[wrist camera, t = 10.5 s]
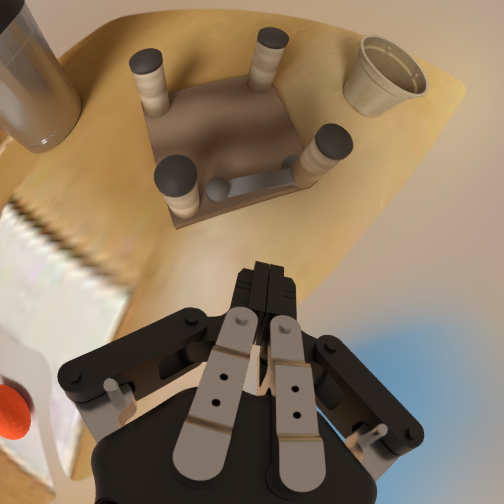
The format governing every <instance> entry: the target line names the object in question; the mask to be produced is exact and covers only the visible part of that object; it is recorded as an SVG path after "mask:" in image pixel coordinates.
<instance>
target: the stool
mask: <svg viewBox="0 0 504 504" xmlns="http://www.w3.org/2000/svg"><path fill="white" fill-rule="evenodd" d="M288 41H289V37H288V35H287V34H286V33H285V32H284V31H282V30H280V29H277V28H272V27H267V28H263V29H261V30H260V31H259V33H258V37H257V43H256V47H255V51H254V55H253V59H252V63H251V67H250V71H249V75H247V76H241V77H235V78H230V79H225V80H220V81H215V82H210V83H206V84H201V85H197V86H193V87H189V88H185V89H181V90H178V91H174V92H171V93H168V92H167V86H166V80H165V74H164V68H163V58H162V53H161V52H160V51H159V50H157V49H153V48H149V49H144V50H141V51H139V52H137V53H135V54H134V55H133V56H132V57H131V59H130V61H129V65H130V69H131V71H132V73H133V76H134V79H135V82H136V85H137V88H138V91H139V94H140V97H141V100H142V102H141V103H142V108H143V112H144V117H145V121H146V126H147V130H148V134H149V138H150V142H151V146H152V150H153V154H154V158H155V162H156V166H157V167H156V169H155V172H154V181H155V184H156V186H157V188H158V189H159V191H160V192H161V193H162V195H163V197H164V198H165V200H166V202H167V205H168V208H169V212H170V215H171V218H172V222H173V225H174V227H175V228H176V230H177V229H180V228H183V227H185V226H188V225H191V224H194V223H197V222H200V221H203V220H206V219H209V218H212V217H215V216H218V215H221V214H224V213H227V212H231V211H234V210H237V209H240V208H243V207H246V206H250V205H253V204H256V203H259V202H263V201H266V200H269V199H272V198H276V197H279V196H283V195H286V194H289V193H293V192H296V191H300V190H303V189H307V188H299V187H297V186H295V185H294V184H291V185H286V186H281V187H276V188H271V189H266V190H262V191H257V192H252V193H247V194H243V195H238V196H234V197H230V198H227V199H226V200H225V201H224V202H222V203H213V202H211V201H210V200H209V199H208V198H207V195H206V185H207V183H208V181H209V180H210V179H211V178H213V177H223V178H225V179H226V180H231V179H235V178H240V177H245V176H250V175H255V174H260V173H265V172H271V171H276V170H282V169H288V168H290V167H291V166H292V165H293V163H294V162H295V161H296V160H297V158H298V157H299V156H300V155H301V153H302V152H303V151H304V149H303V146H302V144H301V142H300V140H299V137H298V135H297V133H296V131H295V129H294V127H293V124H292V122H291V120H290V118H289V116H288V114H287V112H286V110H285V108H284V106H283V104H282V102H281V100H280V98H279V96H278V94H277V92H276V90H275V88H274V86H273V84H272V81H273V79H274V76H275V73H276V71H277V68H278V65H279V63H280V60H281V57H282V55H283V52H284V50H285V47H286V46H287V43H288ZM316 182H317V181H316ZM316 182H315V183H316ZM315 183H314V184H315ZM314 184H313V185H314ZM313 185H311V186H313ZM311 186H310V187H311ZM310 187H308V188H310Z"/></svg>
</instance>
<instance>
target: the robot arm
mask: <svg viewBox="0 0 504 504" xmlns="http://www.w3.org/2000/svg"><path fill="white" fill-rule="evenodd" d="M80 112H81V99H80V96H79V94H78V93H77V91H76V90H75V88H74V87H73V85H72V83H71V82H70V80H69V78H68V77H67V75H66V73H65V72H64V70H63V69H62V67H61V65H60V64H59V62H58V60H57V58H56V57H55V55H54V54H53V52H52V50H51V48H50V47H49V45H48V43H47V41H46V39H45V38H44V36H43V34H42V32H41V30H40V29H39V27H38V25H37V23H36V21H35V20H34V18H33V16H32V14H31V12H30V10H29V8H28V7H27V4H26V3H25V0H0V128H1V129H3V130H4V131H5V132H6V133H7V134H9V135H10V136H11V137H12V138H14V139H15V140H16V141H17V142H19V143H20V144H21V145H22V146H24V147H25V148H26V149H28V150H29V151H31V152H33V153H40V152H45V151H47V150H49V149H51V148H53V147H54V146H56V145H57V144H59V143H60V142H61V141H62V140H63V139H64V138H65V137H66V136H67V135H68V134H69V133H70V131H71V130H72V128H73V127H74V126H75V124H76V122H77V120H78V118H79V115H80ZM296 317H297V312H296V285H295V283H294V282H293V280H292V278H288V277H284V267H282V266H277V265H273V264H270V266H269V264H268V263H263V262H259V261H255V265H254V269H253V270H250V269H245V268H243V269H242V270H241V271H240V272H239V273H238V277H237V281H236V285H235V289H234V293H233V297H232V302H231V306H230V309H229V310H228V311H227V312H226V313H225V314H223V315H221V316H216V317H207V315H206V314H205V313H204V312H203V311H202V310H200V309H197V308H191V307H189V308H184V309H182V310H179V311H177V312H175V313H173V314H171V315H169V316H167V317H165V318H163V319H160V320H158V321H156V322H154V323H152V324H150V325H148V326H146V327H143V328H141V329H139V330H137V331H135V332H133V333H130V334H128V335H126V336H124V337H122V338H120V339H117V340H115V341H113V342H111V343H109V344H106V345H104V346H102V347H100V348H98V349H95V350H93V351H91V352H89V353H86V354H84V355H82V356H80V357H77V358H75V359H73V360H71V361H68V362H66V363H65V364H63V365H62V366H61V367H60V369H59V371H58V376H57V377H58V382H59V384H60V386H61V387H62V389H63V390H64V391H65V393H66V395H67V397H68V398H69V399H70V401H71V402H72V403H73V405H74V406H75V407H76V408H77V409H78V411H79V413H80V415H81V416H82V418H83V420H84V422H85V424H86V425H87V427H88V429H89V431H90V432H91V434H92V436H93V437H94V439H95V441H96V442H97V445H96V446H95V448H94V450H93V452H92V457H91V467H92V471H93V475H94V479H95V486H96V498H95V503H94V504H375V501H376V497H377V487H376V483H375V482H376V481H377V480H378V479H379V478H380V477H381V476H382V475H383V474H384V473H385V471H387V470H388V469H389V468H390V466H391V465H392V464H393V463H394V462H395V461H396V460H397V459H398V458H399V457H400V456H402V455H404V454H406V453H407V452H409V451H411V450H412V449H414V448H416V447H418V446H419V445H420V444H421V443H422V442H423V439H424V430H423V428H422V426H421V424H420V423H419V422H418V421H417V420H416V419H415V418H414V417H413V416H412V415H411V414H410V413H409V412H408V411H407V410H406V409H405V407H404V406H403V405H402V404H401V403H400V402H399V401H398V400H397V399H396V398H395V397H394V396H393V395H392V394H391V393H390V392H389V391H388V390H387V389H386V388H385V386H383V384H382V383H381V382H380V381H379V380H378V379H377V378H376V377H375V376H374V375H373V374H372V373H371V372H370V371H369V370H368V369H367V368H366V367H365V366H364V365H363V363H362V362H361V361H360V360H359V359H358V358H357V357H356V356H355V355H354V354H353V353H352V352H351V351H350V350H349V349H348V348H347V347H346V346H345V345H344V344H343V343H342V341H340V340H339V339H338V338H336V337H334V336H332V335H323V336H321V337H319V338H318V339H316V338H314V337H312V336H310V335H308V334H306V333H304V332H303V331H302V330H301V327H300V325H299V323H298V322H297V318H296ZM255 340H256V344H255V345H259V346H261V347H260V353H259V356H258V359H257V392H256V395H252V394H250V393H247V392H245V391H243V390H242V389H243V384H244V381H245V377H246V372H247V368H248V364H249V360H250V353H251V348H252V344H253V345H254V343H255ZM202 362H207V364H206V367H205V370H204V372H203V375H202V378H201V381H200V383H199V386H198V387H193V388H189V389H186V390H183V391H181V392H179V393H177V394H175V395H174V396H172V397H171V398H169V399H167V400H166V401H164V402H163V403H161V404H160V405H158V406H156V407H155V408H153V409H151V410H150V411H148V412H147V413H145V414H143V415H142V416H140V417H138V418H137V419H135V420H133V421H132V422H130V423H128V424H126V425H125V423H126V422H127V421H128V420H129V419H130V418H131V417H133V415H134V414H135V413H136V410H137V403H136V401H138V400H140V399H142V398H143V397H145V396H147V395H149V394H151V393H153V392H154V391H156V390H158V389H160V388H162V387H163V386H165V385H167V384H169V383H170V382H172V381H174V380H176V379H177V378H179V377H181V376H182V375H184V374H186V373H187V372H189V371H191V370H192V369H194V368H196V367H197V366H199V365H200V364H201V363H202ZM337 384H338V385H337ZM316 405H317V407H318V408H319V409H320V410H321V411H322V413H323V414H324V415H325V416H326V417H327V418H328V420H329V421H330V422H331V423H332V424H333V425H334V427H335V428H336V429H337V430H338V431H339V432H340V433H341V435H342V436H343V437H344V438H345V439H346V441H345V443H344V442H343V441H342V440H341V438H340V437H339V436H338V435H337V433H336V432H335V431H334V430H333V428H332V427H331V426H330V425H329V423H328V422H327V421H326V420H325V418H324V417H323V416H322V415H321V414H320V413H319V412H318V411H316ZM124 425H125V426H124Z"/></svg>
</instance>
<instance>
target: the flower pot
mask: <svg viewBox="0 0 504 504" xmlns="http://www.w3.org/2000/svg"><path fill="white" fill-rule="evenodd" d="M428 88H429V87H428V81H427V78H426V75H425V73H424V71H423V70H422V68H421V67H420V65H419V64H418V63H417V62H416V60H415V59H414V58H413V57H412V56H411V55H410V54H409V53H408V52H407V51H405V50H404V49H403V48H402V47H400V46H399V45H397V44H396V43H394V42H393V41H390V40H389V39H386V38H384V37H381V36H377V35H366V36H364V37H363V38H362V39H361V42H360V50H359V57H358V59H357V61H356V63H355V65H354V67H353V69H352V71H351V73H350V75H349V77H348V79H347V81H346V83H345V85H344V88H343V92H344V96H345V98H346V100H347V101H348V103H349V104H350V105H351V106H353V107H354V108H356V109H357V110H358V112H359V113H361V114H363V115H365V116H368V117H378V116H380V115H381V114H383V113H384V112H386V111H388V110H389V109H391V108H393V107H395V106H396V105H398V104H400V103H402V102H403V101H405V100H407V99H412V98H415V97H422V96H424V95H425V94H426V93H427V92H428Z"/></svg>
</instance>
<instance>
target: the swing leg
mask: <svg viewBox="0 0 504 504" xmlns="http://www.w3.org/2000/svg"><path fill="white" fill-rule="evenodd" d="M352 149H353V141H352V138H351V136H350V134H349V133H348V132H347V131H346V130H345V129H344V128H343V127H341V126H339V125H337V124H325V125H323V126H322V127H321V128H320V129H319V131H318V132H317V134H316V136H315V137H314V138H313V139H312V141H311V142H310V143H309V144H308V146H307V147H306V148H305V149H304V151H303V152H302V153H301V155H300V156H299V157H298V158H297V160H296V161H295V162H294V163H293V165H292V166H291V167H290V168H288V169H282V170H276V171H271V172H265V173H260V174H255V175H250V176H245V177H240V178H235V179H231V180H226V179H225V178H223V177H213V178H211V179H210V180H209V181H208V183H207V185H206V195H207V198H208V199H209V200H210V201H211V202H213V203H222V202H224V201H225V200H226V199H227V198H230V197H234V196H238V195H243V194H247V193H252V192H257V191H262V190H266V189H271V188H276V187H281V186H286V185H291V184H294V185H295V186H297V187H299V188H308V187H310V186H311V185H313V184H314V183H315V182H316V181H317V180H318V179H320V178H321V177H322V176H323V175H324V174H325V173H327V172H328V171H329V170H330V169H331V168H333V167H334V166H335V165H336V164H337V163H338V162H340V161H341V160H342V159H344V158H345V157H347V156H348V155H349V154H350V153H351V151H352Z"/></svg>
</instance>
